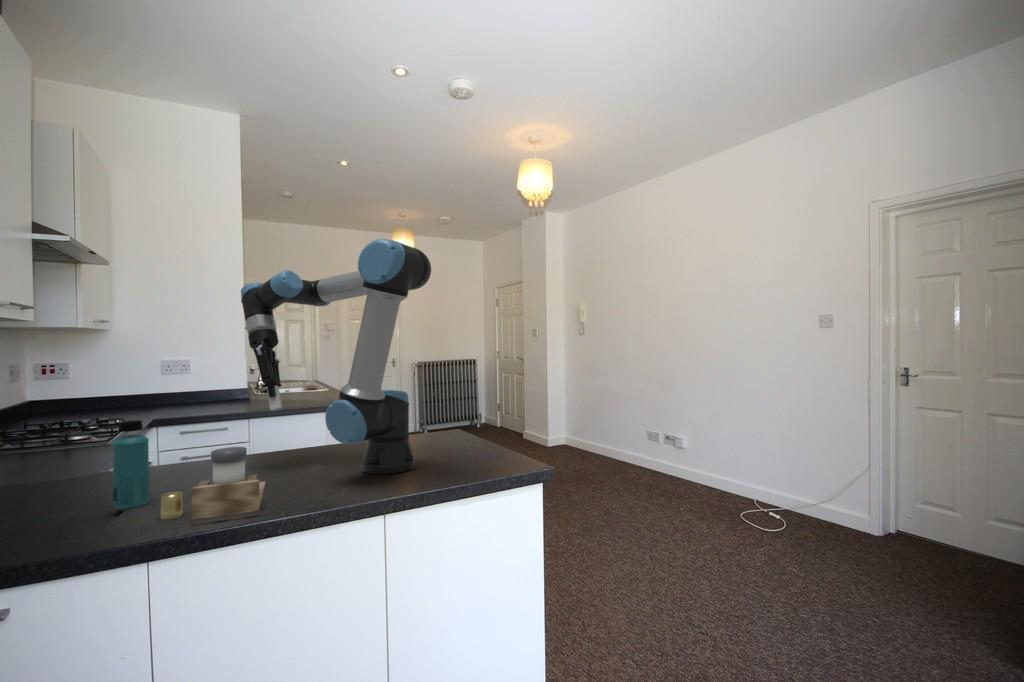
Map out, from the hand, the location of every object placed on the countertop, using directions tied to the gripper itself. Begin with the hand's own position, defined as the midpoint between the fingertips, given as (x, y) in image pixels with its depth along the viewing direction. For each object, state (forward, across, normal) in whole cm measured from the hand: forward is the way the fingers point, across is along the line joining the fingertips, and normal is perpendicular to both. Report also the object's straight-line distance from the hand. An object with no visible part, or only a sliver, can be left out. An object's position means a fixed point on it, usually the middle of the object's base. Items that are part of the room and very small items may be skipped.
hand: (276, 408), depth 130 cm
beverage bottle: (+19, +15, -29) cm, 37 cm away
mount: (+24, +14, -9) cm, 29 cm away
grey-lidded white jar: (+25, +20, -7) cm, 33 cm away
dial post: (+26, +24, -17) cm, 39 cm away
